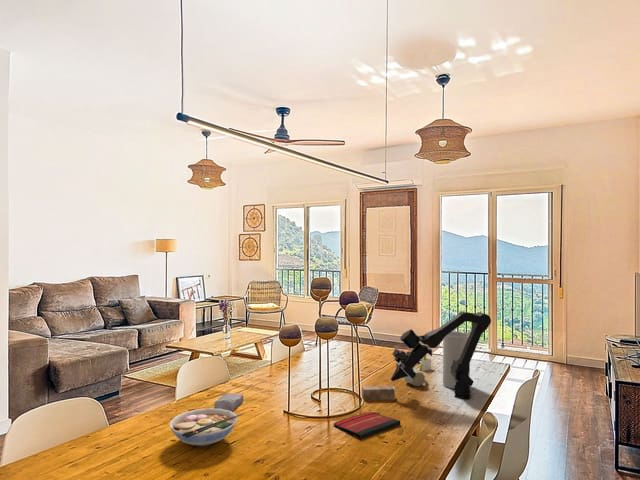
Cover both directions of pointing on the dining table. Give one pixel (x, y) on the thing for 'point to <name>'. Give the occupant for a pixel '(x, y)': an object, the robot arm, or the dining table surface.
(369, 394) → the walnut block
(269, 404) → the dining table surface
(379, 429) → the binder
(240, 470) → the dining table surface
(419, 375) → the ceramic mug
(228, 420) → the ramen bowl
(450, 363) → the cylinder vase
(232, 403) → the stone block
